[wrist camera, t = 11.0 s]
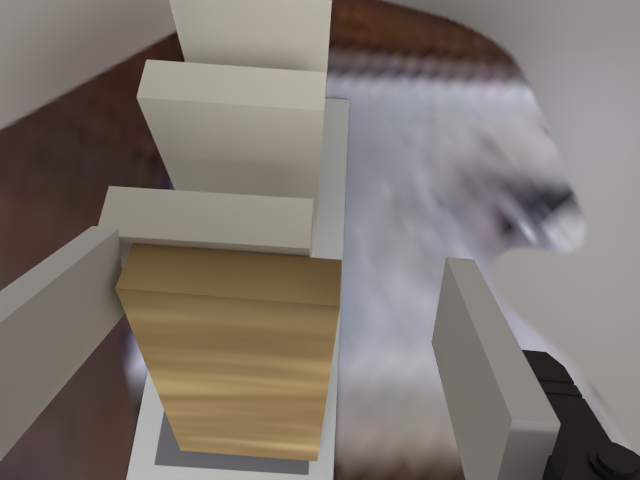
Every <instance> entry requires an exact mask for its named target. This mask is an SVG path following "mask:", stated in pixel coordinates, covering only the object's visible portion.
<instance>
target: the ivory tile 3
mask: <svg viewBox="0 0 640 480" xmlns="http://www.w3.org/2000/svg"><path fill="white" fill-rule="evenodd" d="M169 3H170V7H171V11H172V15H173V18H174V22H175V26H176V30H177V33H178V37H179V41H180V45H181V48H182V52H183V56H184V60H185V62H188V63H202V64H216V65H230V66H244V67H258V68H272V69H286V70H300V71H314V72H327V65H328V50H329V35H330V20H331V6H332V0H169ZM326 79H327V76H326ZM325 94H326V91H325ZM324 109H325V105H324ZM323 124H324V120H323ZM322 138H323V135H322ZM321 153H322V150H321ZM320 168H321V165H320Z"/></svg>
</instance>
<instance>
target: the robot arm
mask: <svg viewBox="0 0 640 480" xmlns="http://www.w3.org/2000/svg"><path fill="white" fill-rule="evenodd" d="M121 272H122V266H121V253H120V240H119V228H109V227H97V226H92V227H90V228H89V229H87V230H86V231H85V232H83V233H82V234H80V235H79V236H78V237H76V238H75V239H73V240H72V241H70V242H69V243H68V244H66V245H65V246H63V247H62V248H61V249H59V250H58V251H56V252H55V253H54V254H52V255H51V256H49V257H48V258H46V259H45V260H44V261H42V262H41V263H39V264H38V265H37V266H35V267H34V268H32V269H31V270H30V271H28V272H27V273H25V274H24V275H22V276H21V277H20V278H18V279H17V280H15V281H14V282H13V283H11V284H10V285H8V286H7V287H5V288H4V289H3V290H1V291H0V461H1V460H2V459H3V457H4V456H5V455H6V454H7V453H8V451H9V450H10V449H11V448H12V447H13V446H14V444H15V443H16V442H17V441H18V440H19V438H20V437H21V436H22V435H23V434H24V433H25V431H26V430H27V429H28V428H29V427H30V425H31V424H32V423H33V422H34V421H35V420H36V418H37V417H38V416H39V415H40V414H41V412H42V411H43V410H44V409H45V408H46V406H47V405H48V404H49V403H50V402H51V401H52V399H53V398H54V397H55V396H56V395H57V393H58V392H59V391H60V390H61V389H62V388H63V386H64V385H65V384H66V383H67V382H68V380H69V379H70V378H71V377H72V376H73V375H74V373H75V372H76V371H77V370H78V369H79V367H80V366H81V365H82V364H83V363H84V362H85V360H86V359H87V358H88V357H89V356H90V354H91V353H92V352H93V351H94V350H95V348H96V347H97V346H98V345H99V344H100V343H101V341H102V340H103V339H104V338H105V337H106V335H107V334H108V333H109V332H110V331H111V330H112V328H113V327H114V326H115V325H116V324H117V322H118V321H119V320H120V319H121V318H122V317H123V315H124V314H125V311H124V309H123V306H122V304H121V301H120V299H119V296H118V294H117V291H116V289H115V287H116V285H117V282H118V280H119V277H120V275H121ZM432 345H433V349H434V353H435V357H436V361H437V365H438V369H439V373H440V378H441V382H442V386H443V390H444V394H445V398H446V402H447V406H448V410H449V414H450V418H451V422H452V426H453V430H454V434H455V438H456V443H457V447H458V451H459V455H460V459H461V463H462V467H463V471H464V475H465V479H466V480H640V456H639V455H637V454H636V453H635V452H633V451H631V450H629V449H627V448H625V447H623V446H621V445H619V444H617V443H614V442H611V440H610V439H609V437H608V435H607V434H606V432H605V431H604V429H603V428H602V426H601V424H600V423H599V421H598V420H597V418H596V416H595V415H594V413H593V412H592V410H591V408H590V407H589V405H588V404H587V402H586V401H585V399H582V394H581V393H580V391H579V389H578V388H577V386H575V385H574V382H573V380H572V378H571V377H570V375H569V374H568V372H567V370H566V369H565V367H564V366H563V365H561V364H560V363H559V362H558V361H557V360H555V359H554V358H553V357H552V356H550V355H549V354H548V353H547V352H539V351H529V350H521V348H520V346H519V344H518V342H517V340H516V338H515V336H514V335H513V333H512V331H511V329H510V327H509V325H508V323H507V321H506V319H505V318H504V316H503V314H502V312H501V310H500V308H499V306H498V304H497V302H496V300H495V299H494V297H493V295H492V293H491V291H490V289H489V287H488V285H487V283H486V282H485V280H484V278H483V276H482V274H481V272H480V270H479V268H478V266H477V264H476V263H475V261H474V260H472V259H461V258H449V257H446V262H445V268H444V273H443V279H442V285H441V291H440V297H439V303H438V309H437V315H436V320H435V326H434V332H433V338H432Z"/></svg>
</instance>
